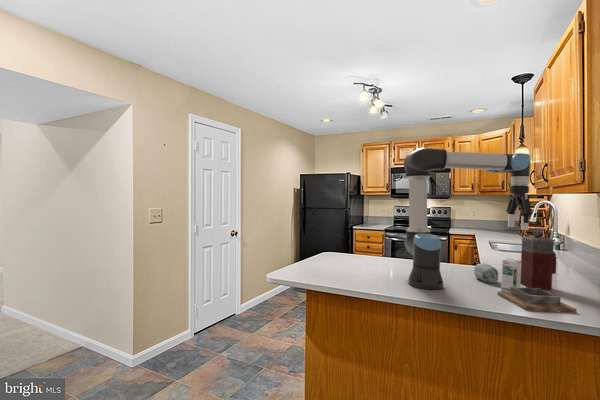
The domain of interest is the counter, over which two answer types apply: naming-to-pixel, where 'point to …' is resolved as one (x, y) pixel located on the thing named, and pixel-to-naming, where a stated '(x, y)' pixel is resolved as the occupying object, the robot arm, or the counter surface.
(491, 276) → the grey green rock
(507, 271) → the syrup box
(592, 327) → the counter surface
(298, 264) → the counter surface
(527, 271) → the toy vending machine
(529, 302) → the board
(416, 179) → the robot arm
